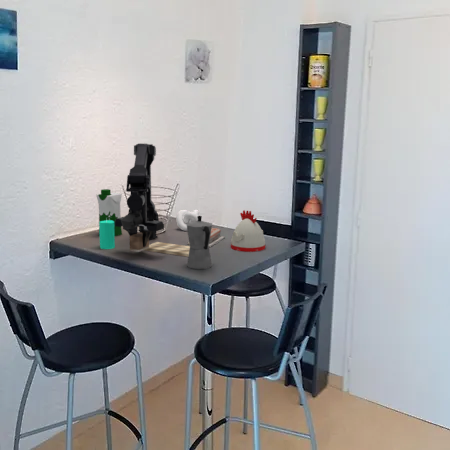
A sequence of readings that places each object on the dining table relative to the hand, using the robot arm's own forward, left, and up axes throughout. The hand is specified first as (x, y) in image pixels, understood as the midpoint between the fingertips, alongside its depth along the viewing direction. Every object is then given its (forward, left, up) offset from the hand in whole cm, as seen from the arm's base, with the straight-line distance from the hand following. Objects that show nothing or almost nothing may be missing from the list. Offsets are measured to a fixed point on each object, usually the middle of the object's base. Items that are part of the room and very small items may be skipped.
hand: (139, 246), depth 211 cm
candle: (-17, +3, -3) cm, 18 cm away
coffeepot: (+28, -3, -3) cm, 28 cm away
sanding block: (0, 0, -1) cm, 1 cm away
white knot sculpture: (-5, +47, -3) cm, 47 cm away
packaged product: (+13, +30, -4) cm, 33 cm away
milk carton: (-29, +21, -3) cm, 36 cm away
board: (+8, +11, -3) cm, 14 cm away
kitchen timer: (+32, +30, -4) cm, 44 cm away
